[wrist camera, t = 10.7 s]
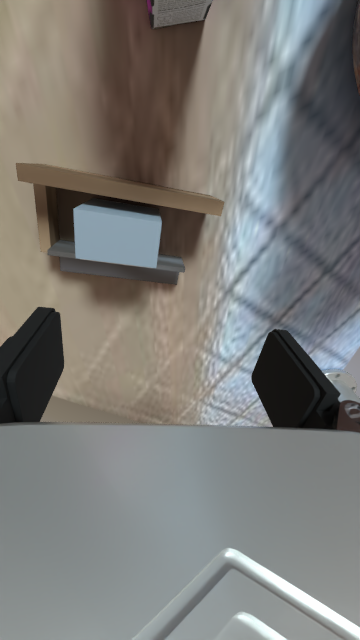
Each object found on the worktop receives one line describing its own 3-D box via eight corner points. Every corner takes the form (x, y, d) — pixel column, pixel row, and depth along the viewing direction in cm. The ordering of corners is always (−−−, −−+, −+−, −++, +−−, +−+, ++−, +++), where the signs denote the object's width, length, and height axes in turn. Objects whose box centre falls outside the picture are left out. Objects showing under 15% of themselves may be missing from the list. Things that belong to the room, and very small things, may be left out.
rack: (191, 285, 33) (199, 306, 28) (52, 268, 30) (32, 289, 25) (210, 195, 27) (224, 201, 22) (43, 164, 24) (15, 163, 19)
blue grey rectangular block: (154, 246, 30) (156, 269, 23) (93, 237, 28) (75, 260, 22) (158, 208, 28) (161, 222, 21) (92, 198, 26) (73, 208, 20)
